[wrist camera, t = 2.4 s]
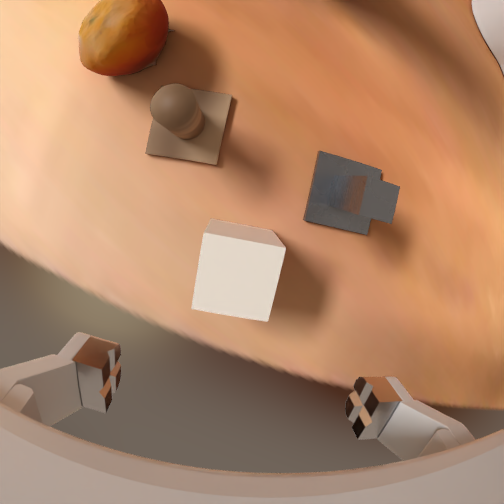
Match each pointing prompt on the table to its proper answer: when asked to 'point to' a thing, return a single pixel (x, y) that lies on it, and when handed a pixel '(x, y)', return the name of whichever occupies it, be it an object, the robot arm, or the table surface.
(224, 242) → the white rectangular block
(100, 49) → the fruit
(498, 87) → the table surface
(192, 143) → the knob on square plate
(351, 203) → the grey square post stand
